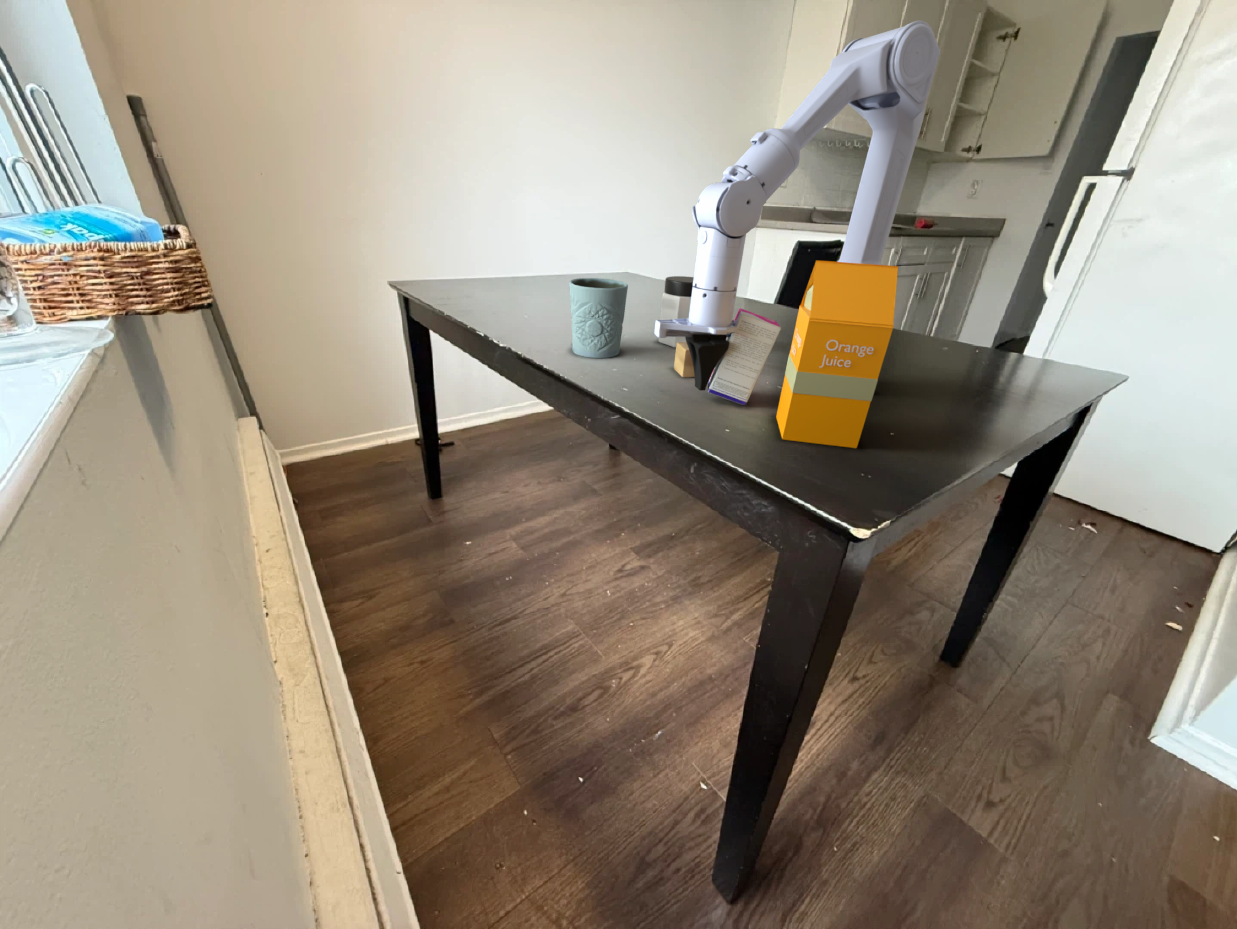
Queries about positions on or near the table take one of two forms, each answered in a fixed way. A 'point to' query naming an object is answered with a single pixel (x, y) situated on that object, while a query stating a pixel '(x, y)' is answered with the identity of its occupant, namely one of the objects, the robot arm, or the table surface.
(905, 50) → the robot arm
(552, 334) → the table surface
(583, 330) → the drinking glass
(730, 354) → the supplement box
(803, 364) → the orange juice
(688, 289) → the jar
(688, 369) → the maple block
